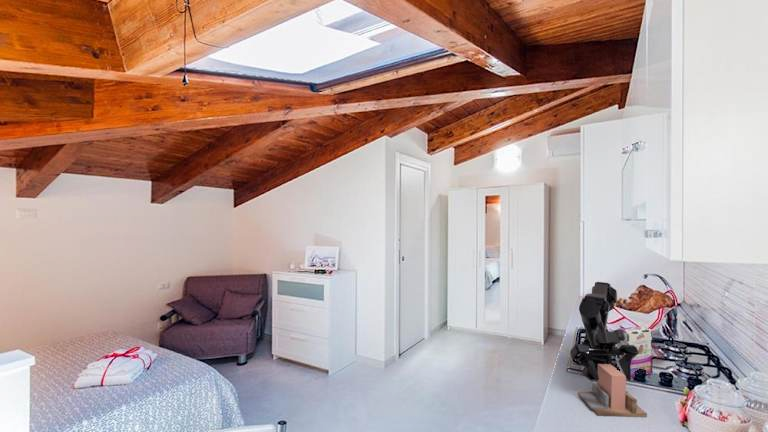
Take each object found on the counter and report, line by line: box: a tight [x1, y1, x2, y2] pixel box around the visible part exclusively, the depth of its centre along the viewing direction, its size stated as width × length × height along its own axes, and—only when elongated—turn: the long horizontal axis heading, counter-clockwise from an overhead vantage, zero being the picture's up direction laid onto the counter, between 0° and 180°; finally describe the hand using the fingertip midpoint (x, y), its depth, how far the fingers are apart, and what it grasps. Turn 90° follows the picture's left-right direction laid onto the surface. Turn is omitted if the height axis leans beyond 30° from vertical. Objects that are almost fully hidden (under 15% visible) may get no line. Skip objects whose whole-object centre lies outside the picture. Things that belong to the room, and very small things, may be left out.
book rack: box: [577, 382, 648, 418], centre depth 114 cm, size 12×15×5 cm
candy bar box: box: [616, 325, 653, 378], centre depth 134 cm, size 11×5×16 cm, turn 105°
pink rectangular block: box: [596, 363, 627, 409], centre depth 114 cm, size 8×4×10 cm, turn 177°
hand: (613, 379), depth 112 cm, fingers open, 9 cm apart
